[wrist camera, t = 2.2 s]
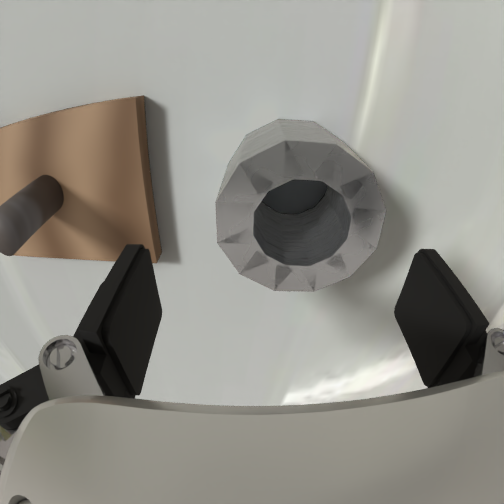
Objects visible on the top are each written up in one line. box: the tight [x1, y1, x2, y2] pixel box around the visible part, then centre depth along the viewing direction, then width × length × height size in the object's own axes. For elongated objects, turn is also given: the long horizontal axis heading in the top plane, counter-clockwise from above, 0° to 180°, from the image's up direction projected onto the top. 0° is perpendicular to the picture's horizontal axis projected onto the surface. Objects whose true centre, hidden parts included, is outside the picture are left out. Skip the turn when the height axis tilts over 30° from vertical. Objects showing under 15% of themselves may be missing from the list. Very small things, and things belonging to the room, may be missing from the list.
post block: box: [0, 96, 162, 263], centre depth 14 cm, size 14×10×6 cm
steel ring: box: [215, 119, 386, 292], centre depth 14 cm, size 7×7×5 cm
